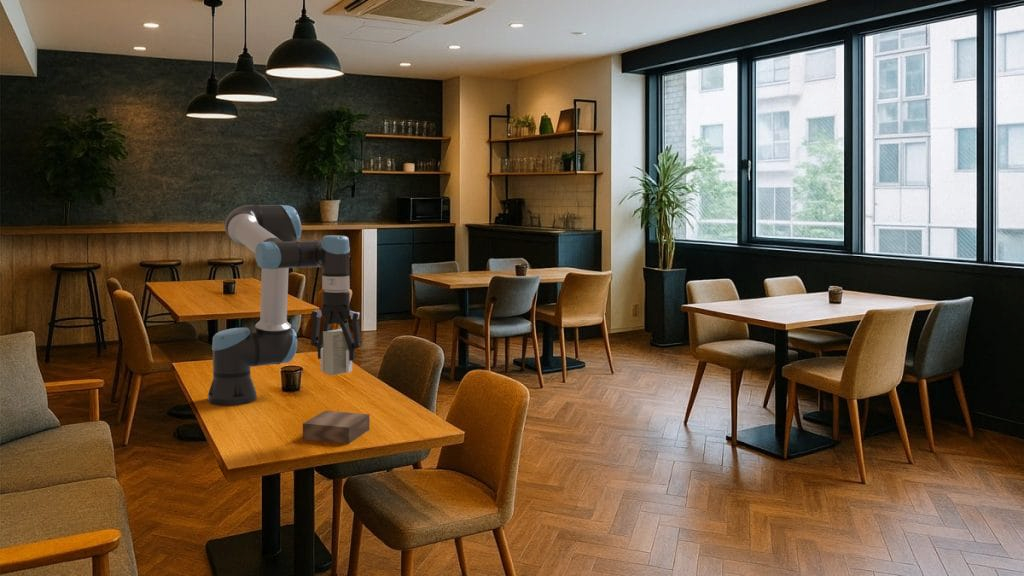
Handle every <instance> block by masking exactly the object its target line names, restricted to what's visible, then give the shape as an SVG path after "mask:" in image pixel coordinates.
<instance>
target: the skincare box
mask: <svg viewBox="0 0 1024 576" xmlns="http://www.w3.org/2000/svg"><path fill="white" fill-rule="evenodd" d="M347 349H348V345H347V342H346V340H345V337H344V334H343V331H342V328H337V329H332V330H331V329H330V330H329V331H323V362H324V371H323V373H324V374H326V375H330V376H335V375H342V374H347V373H346V350H347Z"/></svg>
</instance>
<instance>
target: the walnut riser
mask: <svg viewBox="0 0 1024 576" xmlns="http://www.w3.org/2000/svg"><path fill="white" fill-rule="evenodd" d="M369 431H370V414H369V413H361V412H360V413H358V412H357V413H356V412H348V411H347V412H346V411H333V410H324V411H322V412H320V413H319V414H317V415H315V416H313V417H311V418H310V419H308V420H306V421H305V422H302V440H305V441H313V442H314V441H316V442H325V443H327V442H328V443H336V444H337V443H338V444H347V445H350V444H351V443H353V442H354V441H356V440H357V439H358V438H360V437H361V436H363V435H364V434H366V433H367V432H369Z"/></svg>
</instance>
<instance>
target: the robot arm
mask: <svg viewBox="0 0 1024 576" xmlns="http://www.w3.org/2000/svg"><path fill="white" fill-rule="evenodd" d="M224 229H225V233H226V235H227V236H228V237H229V238H230V239H231V240H232V241H233V242H235V243H237V244H239V245H240V244H241V245H244V246H245V247H247V248H248V249H249V250H250V251H251V252H253V254H254V255H255V256H254V257H255V261H256V264H257V267H259V268H260V269H261V277H260V278H261V280H260V281H261V282H260V319H259V321H258V322H256V324H255V327H254V328H255V330H254V331H251V330H250V328H248V327H234V328H233V327H232V328H228V329H223V330H221V331H220V330H219V331H218V332H216V333H214V335H213V336H212V346H211V350H212V373H213V374H212V382H211V384H210V387H209V390H208V394H207V402H208V403H209V404H212V405H218V406H237V405H243V404H248V403H252V402H254V401H256V400H257V390H256V386H255V385H254V382H253V380H252V376H251V368H252V367H261V366H269V365H270V366H271V365H281V364H285V363H286V364H287V363H289V362H291V361H292V360H293V359H294V357H295V355H296V353H297V349H298V339H297V337H298V336H297V332H296V331H295V330H294V329H293V328H292V324H291V323H289V322H288V295H289V294H288V293H289V269H293V268H297V269H298V268H321V279H322V280H321V284H322V285H321V289H322V290H324V291H322V293H321V297H322V301H321V302H322V307H321V309H317V310H316V309H315V310H313V311H311V316H312V328H311V339H310V345H311V346H314V347H316V348H317V360H320V372H324V362H323V331H329V330H331V327H332V325H333V324H336V325H339V327H340V329H342V331H343V334H344V337H345V340H346V342H347V345H348V349H347V350H346V373H345V374H350V373H351V372H353V361H355V359H356V349H357V348H360V347H361V346H362V334H361V326H360V318H361V312H360V311H357V312H356V311H353V310H352V309H351V307H350V303H351V302H350V301H351V298H350V297H351V296H350V291H349V290H350V289H351V288H350V285H351V284H350V283H351V282H350V281H351V280H350V260H351V258H350V251H351V247H350V240H349V237H348V236H346V235H331V234H330V235H324V236H323V237H322V239H313V240H301V241H299V240H300V239H301V236H302V223H301V219H300V216H299V213H298V211H297V209H295V207H293V206H291V205H286V204H246V205H242V206H238V207H237V208H235V209H233V210H231V212H230V213H229V214H228V215H227V216H226V219H225V222H224ZM322 316H323V318H324V323H323V327H322V330H321V331H320V329H321V322H322V321H321V318H322ZM349 317H350V319H351V325H352V331H351V329H350V326H349V321H348V318H349Z"/></svg>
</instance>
